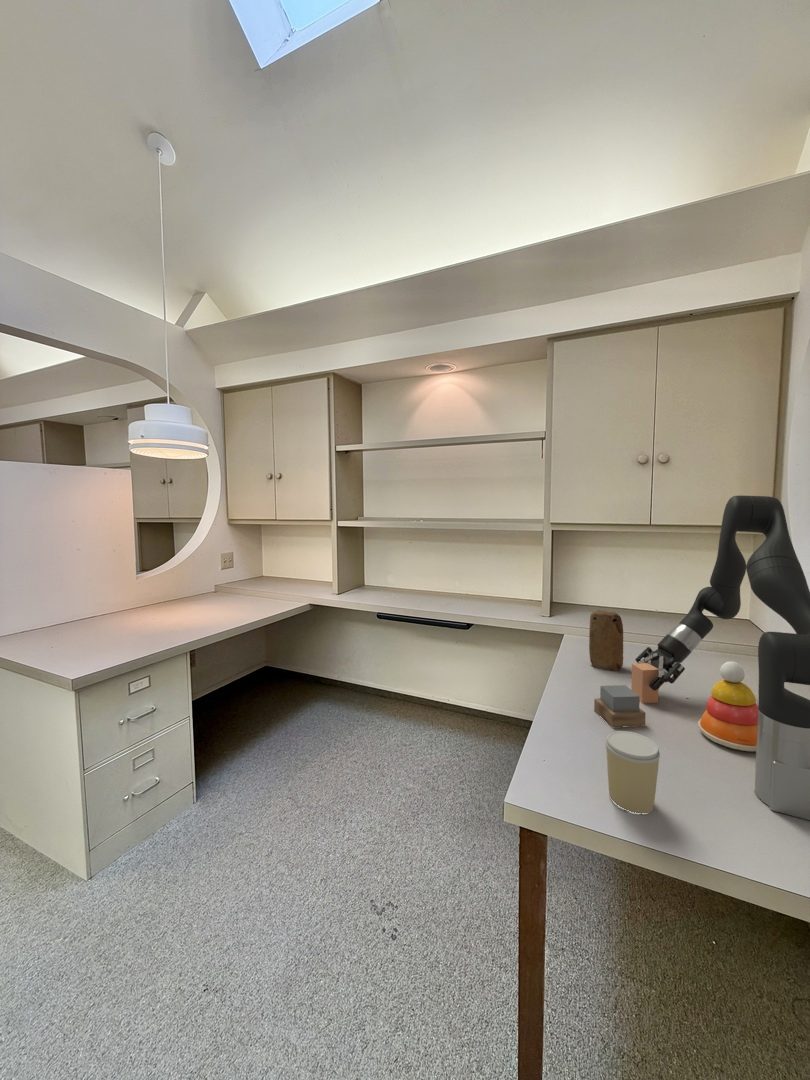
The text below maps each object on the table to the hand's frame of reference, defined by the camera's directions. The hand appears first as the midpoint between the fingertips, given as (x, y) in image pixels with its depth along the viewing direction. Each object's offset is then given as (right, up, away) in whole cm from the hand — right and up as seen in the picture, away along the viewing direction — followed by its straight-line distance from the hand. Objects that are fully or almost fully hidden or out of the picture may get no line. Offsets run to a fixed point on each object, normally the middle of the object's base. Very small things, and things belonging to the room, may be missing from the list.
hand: (641, 682), depth 123 cm
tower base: (-12, -7, -10) cm, 17 cm away
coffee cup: (-26, -9, -42) cm, 50 cm away
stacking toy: (+10, -7, -21) cm, 25 cm away
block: (+2, -3, +25) cm, 26 cm away
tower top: (-12, -3, -10) cm, 16 cm away
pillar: (+1, -5, 0) cm, 5 cm away
